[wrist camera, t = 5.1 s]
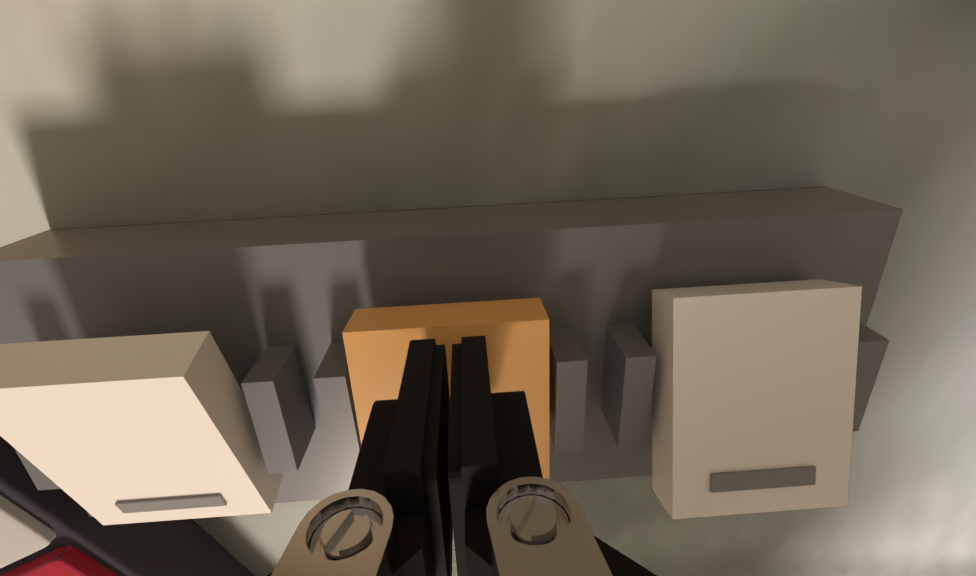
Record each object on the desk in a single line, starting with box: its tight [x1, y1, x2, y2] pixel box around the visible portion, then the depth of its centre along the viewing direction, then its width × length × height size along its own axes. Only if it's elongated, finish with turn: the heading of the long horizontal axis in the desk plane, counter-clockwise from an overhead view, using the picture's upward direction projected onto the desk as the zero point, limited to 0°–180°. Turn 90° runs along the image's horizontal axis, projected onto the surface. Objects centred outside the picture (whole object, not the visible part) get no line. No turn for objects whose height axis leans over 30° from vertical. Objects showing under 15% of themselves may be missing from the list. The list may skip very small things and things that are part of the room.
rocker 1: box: [0, 331, 283, 525], centre depth 12 cm, size 5×6×2 cm
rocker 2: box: [652, 279, 862, 519], centre depth 13 cm, size 5×6×2 cm
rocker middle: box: [342, 298, 549, 479], centre depth 13 cm, size 5×6×2 cm
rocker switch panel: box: [0, 187, 903, 517], centre depth 15 cm, size 25×9×5 cm, turn 92°
